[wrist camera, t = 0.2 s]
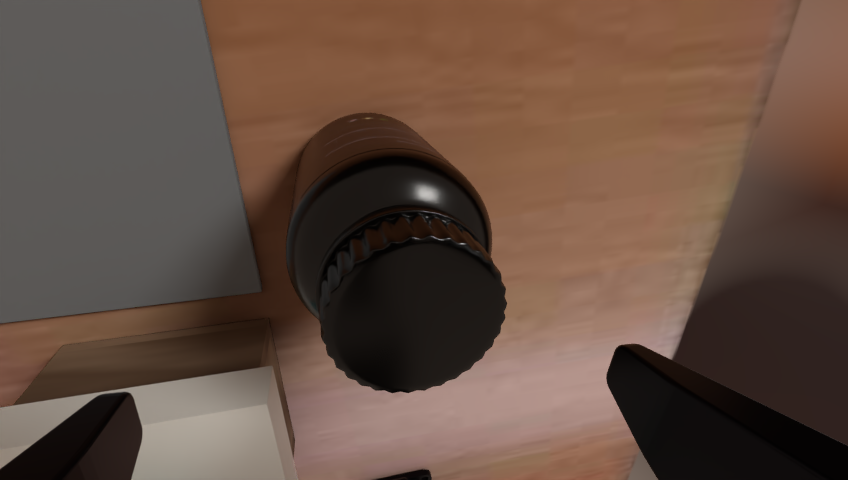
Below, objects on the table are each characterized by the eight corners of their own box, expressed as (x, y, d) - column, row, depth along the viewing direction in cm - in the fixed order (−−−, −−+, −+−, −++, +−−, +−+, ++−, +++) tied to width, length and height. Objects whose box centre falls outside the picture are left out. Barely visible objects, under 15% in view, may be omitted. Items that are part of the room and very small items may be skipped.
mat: (262, 287, 22) (261, 292, 22) (-53, 325, 19) (-59, 330, 19) (196, -21, 16) (193, -22, 15) (-286, -31, 13) (-302, -32, 13)
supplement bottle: (434, 232, 23) (530, 400, 12) (307, 247, 22) (295, 448, 11) (433, 104, 20) (561, 183, 9) (286, 111, 18) (240, 213, 8)
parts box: (294, 439, 27) (288, 535, 22) (127, 471, 25) (76, 584, 20) (268, 318, 23) (253, 402, 18) (62, 345, 21) (-24, 449, 16)
